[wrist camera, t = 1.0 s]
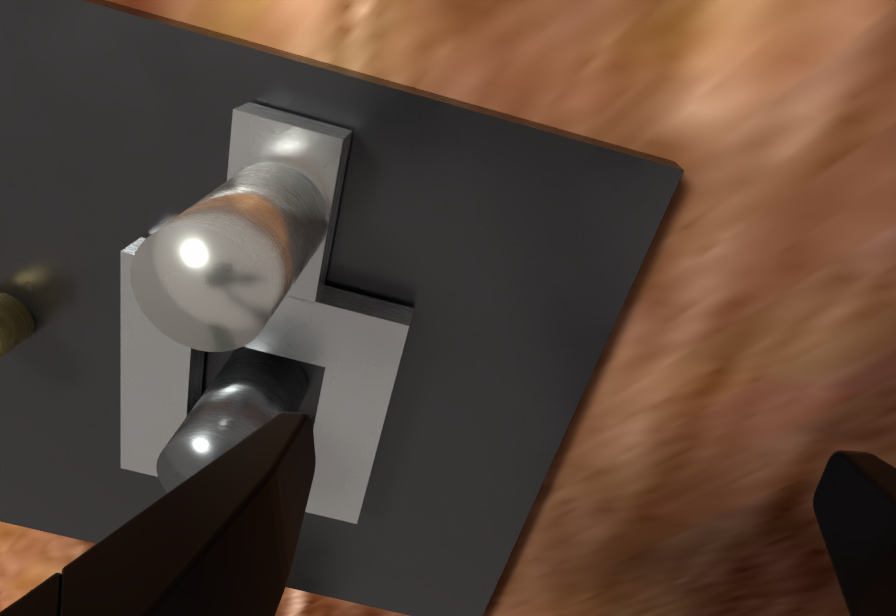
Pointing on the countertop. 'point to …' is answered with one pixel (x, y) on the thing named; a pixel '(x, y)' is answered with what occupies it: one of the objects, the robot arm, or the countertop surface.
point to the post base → (350, 268)
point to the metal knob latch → (260, 303)
